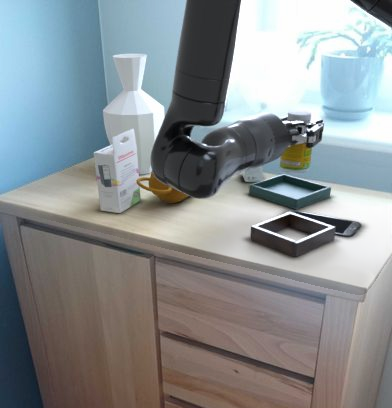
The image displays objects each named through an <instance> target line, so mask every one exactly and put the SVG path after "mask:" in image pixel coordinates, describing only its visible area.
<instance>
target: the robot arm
mask: <svg viewBox="0 0 392 408" xmlns="http://www.w3.org/2000/svg"><path fill="white" fill-rule="evenodd" d="M347 1H348V2H349V3H350V4H352V5H353V6H354V7H356V8H357V9H358V10H360V11H362V12H363V13H364V14H366V15H368V16H370V17H371V18H373V19H374V20H376V21H377V22H379V23H381V24H382V25H384V26H386V27H388V28H389V29H390V30H392V0H347ZM242 3H243V0H186V1H185V7H184V12H183V19H182V24H181V30H180V36H179V42H178V48H177V55H176V61H175V69H174V75H173V82H172V89H171V98H170V102H169V104H168V107H167V109H166V112H165V114H164V120H163V122H162V125H161V127H160V130H159V132H158V135H157V137H156V139H155V142H154V144H153V147H152V151H151V157H150V161H151V168H152V172H153V174H154V176H155V178H156V179H157V180H158V181H160V182H161V183H163V184H165V185H167V186H169V187H172V188H174V189H176V190H178V191H180V192H182V193H184V194H186V195H189V196H188V197H190V198H193V199H198V200H205V199H211V198H213V197H214V196H216V195H217V194H218V193H219V192H220V190H221V189H222V188H223V187H224V186H225V185H226V184H227V183H228V182H229V181H230V180H231V179H232V178H233V177H234V176H237V175H239V174H242V172H244V171H248V170H252V169H255V168H257V167H260V166H262V165H263V166H264V165H267V164H270V163H271V162H274V161H277V160H278V159H279V158H280V156H281V155H282V154H283V153H284V151H285V150H286V148H287V147H290V146H291V145H296V144H302V143H303V142H305V145H306V147H308V148H312V149H313V148H314V147H315V146H317V145H318V144H320V143H321V142H322V140H323V133H324V127H325V122H324V119H321V118H318V119H315V120H312V121H310V122H308V123H305V122H303V121H294V122H288V121H287V120H288V119H287V117H288V114H287V115H283V116H280V117H279V116H278V115H276V114H275V113H273V112H261V113H258V114H254V115H251V116H248V117H245V118H241V119H238V120H236V121H234V122H233V123H231V124H228V125H225V126H222V127H219V128H215V129H213V130H211V131H209V132H208V133H207V134H205V135H204V137H203V138H202V139H201V141H198V140H196V139H194V138H191V137H192V132H193V129H194V128H195V127H213V126H216V125H218V124H219V123H220V122H221V121H222V120H223V117H224V114H225V109H226V105H227V100H228V95H229V89H230V84H231V79H232V73H233V68H234V62H235V56H236V55H235V54H236V50H237V49H236V48H237V41H238V33H239V23H240V17H241V9H242ZM295 126H297V128H296V127H295ZM307 127H308V129H307V130H306V133H305V129H306V128H307Z"/></svg>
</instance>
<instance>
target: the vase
mask: <svg viewBox="0 0 392 408" xmlns="http://www.w3.org/2000/svg"><path fill="white" fill-rule="evenodd" d="M147 58H148V54H146V53H119V54H113V55H112V59H113V62H114V65H115V69H116V72H117V75H118V78H119V81H120V84H121V86H122V89H123V90H122V91H120V93H118V95H116V97H114V98H113V99H112V100H111V101H110V103H108V104H106V106H105V107H104V108H103V110H102V115H103V117H102V118H103V124H104V130H105V134H106V138H107V140H108V143H109V146H110V145H112V138H113V137H115V136H117V135H119V134H121V133H124V132H126V131H129V130H131V129H134V133H135V141H136V147H137V159H138V172H139V175H147V174H148V175H149V174H151V172H152V168H151V161H150V157H151V151H152V147H153V144H154V142H155V139H156V137H157V135H158V132H159V130H160V127H161V125H162V122H163V120H164V117H165V106H164V105H162V104H161V103H160V102H158V100H157V99H154V98H153V97H152V96H151V95H150V94H148V93H147V92H146V91H144V90H143V89H142V85H143V80H144V75H145V69H146V62H147ZM127 141H128V138H123V140H121V141H120V142H121V143H125V142H127Z"/></svg>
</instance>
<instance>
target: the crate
mask: <svg viewBox="0 0 392 408" xmlns="http://www.w3.org/2000/svg"><path fill="white" fill-rule="evenodd" d="M289 226H290V228H293V229H296V230H298V231H302V232H304V233H307V234H309V235H308V236H306V237H303V238H300V239H298V240H294V239H292V238H291V237H290V238H289V237H288V236H284V235H281V234H279V233H277V232H279V231H282V230H284V229H286V228H289ZM335 230H336V227H334V226H331V225H328V224H325V223H322V222H319V221H316V220H313V219H310V218H307V217H304V216H301V215H298V214H295V213H292V212H288V213H286V212H285V213H283V214H280V215H278V216H275V217H272V218H270V219H267V220H264V221H261V222H259V223H256V224H254V225H251V226H250V238H249V240H251V241H254V242H256V243H259V244H261V245H264V246H266V247H269V248H272V249H273V250H277V251H279V252H281V253H284V254H286V255H289V256H291V257H294V258H298V257H300V256H302V255H305V254H307V253H308V252H311V251H313V250H316V249H318V248H320V247H322V246H325V245H326V244H329V243H331V242H333V241H335V238H336V237H335V236H336V235H335Z"/></svg>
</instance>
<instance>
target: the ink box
mask: <svg viewBox="0 0 392 408" xmlns="http://www.w3.org/2000/svg"><path fill="white" fill-rule="evenodd" d="M123 138H128V141H127V142H125V143H121V142H120V141H121V140H123ZM92 153H93V160H94V161H93V162H94V167H95V168H94V169H95V176H96V184H97V191H98V192H97V193H98V200H99V209H100V211H103V212H109V213H115V214H121V213H123V212H125V211H126V210H128V209H130V208H132V206H135V205H137V204H138V203H139V202H141V201H142V199H141V198H142V197H141V187H140V186H139V185H138V184H137V179H139V178H140V174H139V172H138V159H137V147H136V141H135V133H134V129H131V130H129V131H126V132H124V133H121V134H119V135H117V136H115V137H113V138H112V145H110V144H109V145H108V146H105V147H103V148H101V149H99V150H96V151H94V152H92Z"/></svg>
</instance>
